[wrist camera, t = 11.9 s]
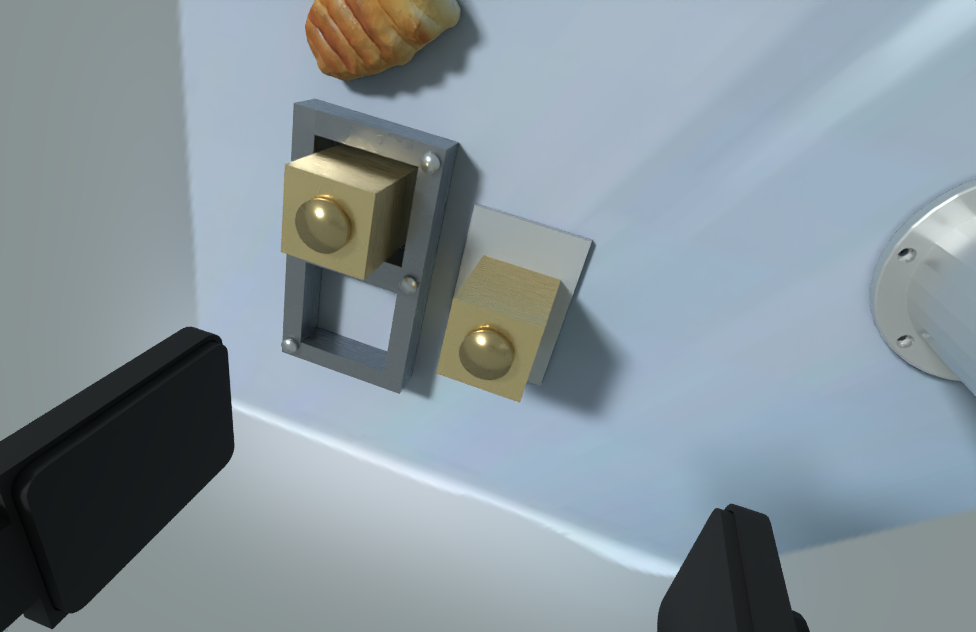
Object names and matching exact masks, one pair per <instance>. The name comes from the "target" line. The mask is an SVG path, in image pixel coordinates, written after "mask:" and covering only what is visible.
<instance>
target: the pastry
mask: <svg viewBox="0 0 976 632" xmlns="http://www.w3.org/2000/svg"><path fill="white" fill-rule="evenodd" d="M459 18H460V6H459V4H458V3H457V1H456V0H315V1H314V3H313V5H312V7H311V9H310V12H309V14H308V17H307V21H306V24H305V29H306V36H307V41H308V44H309V46H310V48H311V50H312V53H313V54H314V56H315V58H316V60H317V64H318V67H319V69H320V70H321V71H322V72H323V73H324V74H326V75H328V76H332V77H335V78H338V79H341V80H344V81H351V80H354V79H357V78H359V77H362V76H368V75H376V74H379V73H381V72H383V71H385V70H387V69H388V68H391V67H394V66H396V65H400V66H401V65H405V64H407V63H408V62H410V61H411V60H412V58H413V56H414V55H415V53H416V52H417V51H419V50H421V49H422V48H423V47H424V46H425V45H427V44H428V43H430V42H432V41H434V40H435V39H436V38H437V37H438V36H439V35H440V34H441V33H442V32H444V31H445V30H446V29H449V28H451V27H454V26H455V25H456V24H457V22H458V21H459Z"/></svg>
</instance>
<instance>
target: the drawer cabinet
mask: <svg viewBox="0 0 976 632" xmlns="http://www.w3.org/2000/svg"><path fill="white" fill-rule="evenodd" d="M333 140H334V141H337V142H340V143H343V144H347V145H350V146H353V147H356V148H360V149H363V150H366V151H369V152H372V153H376V154H379V155H382V156H385V157H389V158H392V159H395V160H398V161H401V162H405V163H408V164H411V165H414V166H417V167H419V168H418V174H417V180H416V186H415V192H414V197H413V203H412V209H411V215H410V221H409V227H408V233H407V239H406V245H405V251H402V250H399V249H398V250H397V251H396V252H395V253H394V254H393V255H392V256H390V257H389V258H388V259H387V260H386V261H385V262H384V263H383V264H382V265H380V266H379V267H378V268H377V269H376V270H375V271H374V272H373V273H371V274H370V275H369V276H368V277H367V278H366V279H365V280H361V279H358V278H355V277H353V276H350V275H347V274H344V273H341V272H338V271H335V270H332V269H329V268H326V267H323V266H320V265H318V264H315V263H312V262H309V261H306V260H303V259H300V258H297V257H294V256H291V255H288V254H287V259H286V280H285V301H284V322H283V342H282V344H281V346H282V352H284V353H287V354H290V355H293V356H295V357H298V358H301V359H304V360H307V361H309V362H312V363H315V364H318V365H321V366H323V367H326V368H329V369H332V370H335V371H337V372H340V373H343V374H346V375H349V376H351V377H354V378H357V379H360V380H363V381H365V382H368V383H371V384H374V385H377V386H379V387H382V388H385V389H388V390H391V391H393V392H396V393H399V394H400V392H401V391H402V389H403V388H404V386H405V385H406V383H407V382H408V380H409V379H410V377H411V376H412V371H413V366H414V361H415V356H416V351H417V346H418V341H419V336H420V331H421V326H422V321H423V316H424V311H425V306H426V301H427V296H428V291H429V286H430V281H431V276H432V271H433V266H434V261H435V256H436V251H437V246H438V241H439V236H440V231H441V226H442V221H443V216H444V211H445V206H446V202H447V197H448V192H449V187H450V182H451V177H452V172H453V167H454V162H455V157H456V152H457V147H458V142H455V141H452V140H449V139H446V138H442V137H439V136H436V135H432V134H429V133H426V132H423V131H419V130H416V129H413V128H409V127H406V126H403V125H399V124H396V123H393V122H390V121H386V120H383V119H380V118H376V117H373V116H370V115H366V114H363V113H360V112H357V111H353V110H350V109H347V108H343V107H340V106H337V105H334V104H330V103H327V102H324V101H320V100H317V99H312V100H307V101H302V102H297V103H294V111H293V132H292V153H291V162H293V161H295V160H298V159H301V158H303V157H306V156H309V155H312V154H314V153H317V152H320V151H322V150H325V149H328V148H331V147H332V146H333ZM322 268H325V269H328V270H331V271H334V272H337V273H340V274H343V275H346V276H349V277H352V278H355V279H357V280H360V281H363V282H366V283H369V284H372V285H375V286H378V287H381V288H384V289H387V290H390V291H393V292H396V293H397V299H396V305H395V311H394V316H393V322H392V328H391V334H390V340H389V346H388V352H386V351H383V350H380V349H378V348H375V347H372V346H369V345H366V344H363V343H360V342H358V341H355V340H352V339H349V338H346V337H343V336H340V335H338V334H335V333H332V332H329V331H326V330H323V329H320V328H318V327H317V322H318V310H319V299H320V287H321V275H322Z"/></svg>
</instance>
